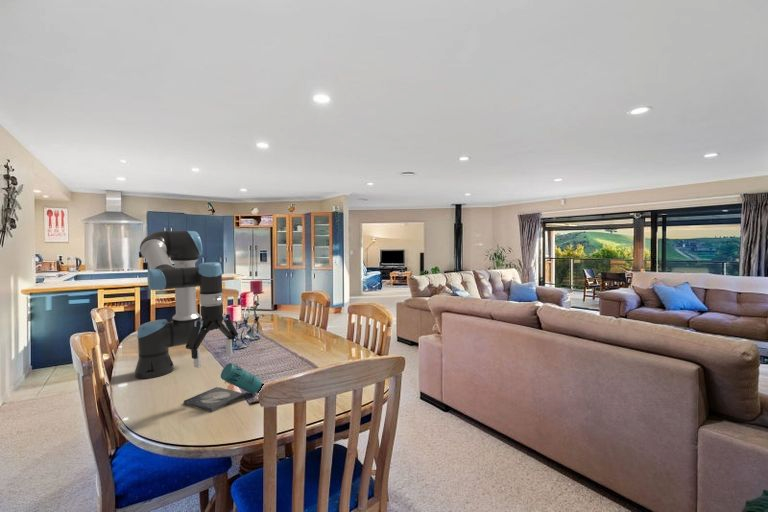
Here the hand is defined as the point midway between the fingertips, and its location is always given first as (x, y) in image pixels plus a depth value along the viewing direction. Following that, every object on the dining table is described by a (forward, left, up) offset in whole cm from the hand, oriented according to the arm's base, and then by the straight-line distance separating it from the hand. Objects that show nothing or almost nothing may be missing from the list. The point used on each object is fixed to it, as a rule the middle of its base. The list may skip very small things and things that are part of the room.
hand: (214, 361), depth 138 cm
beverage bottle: (+5, 0, -2) cm, 5 cm away
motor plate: (0, 0, -15) cm, 15 cm away
